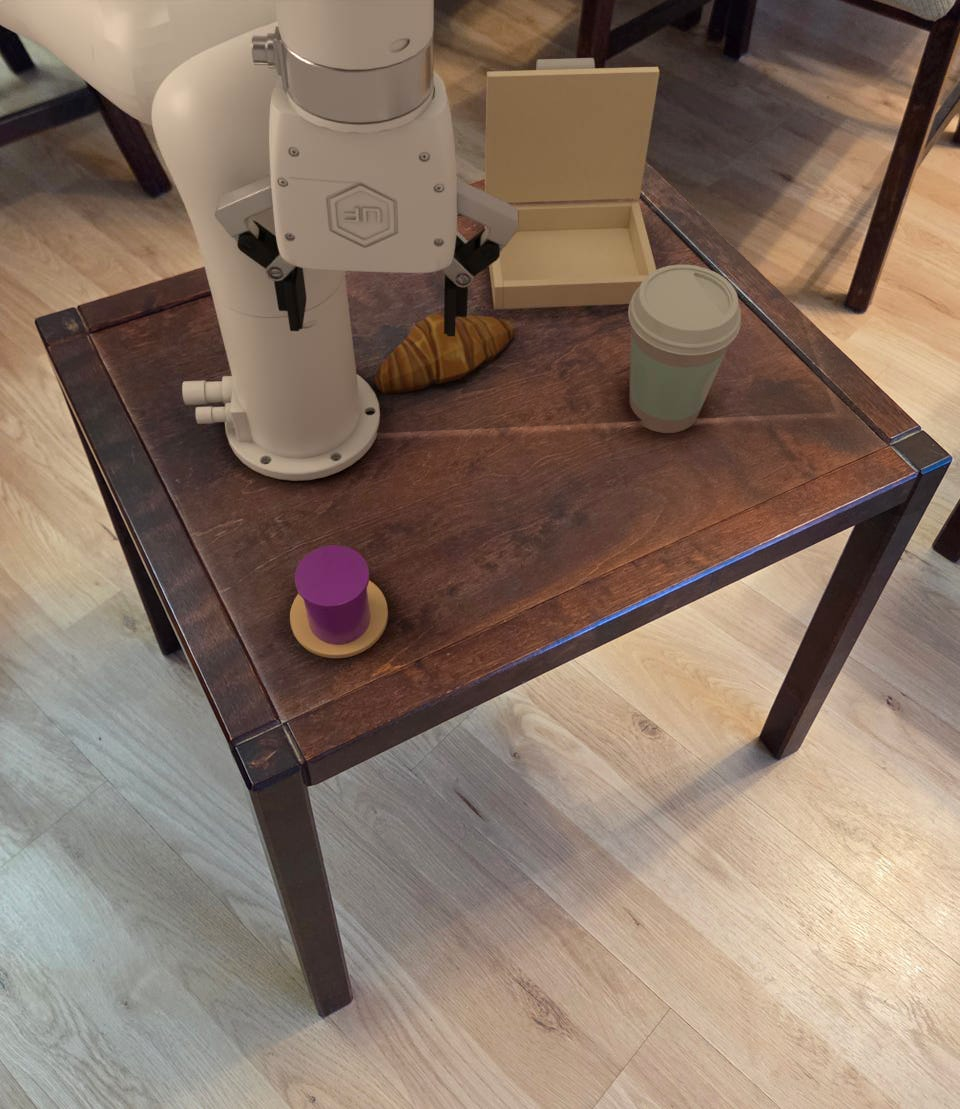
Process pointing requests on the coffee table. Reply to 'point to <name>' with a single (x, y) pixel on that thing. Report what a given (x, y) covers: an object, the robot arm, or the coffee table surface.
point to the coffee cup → (678, 343)
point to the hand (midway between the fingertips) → (374, 318)
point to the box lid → (568, 131)
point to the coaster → (349, 649)
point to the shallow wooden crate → (573, 256)
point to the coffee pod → (335, 593)
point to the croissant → (442, 352)
